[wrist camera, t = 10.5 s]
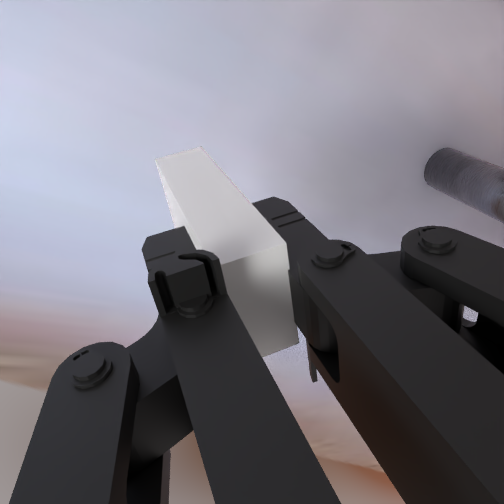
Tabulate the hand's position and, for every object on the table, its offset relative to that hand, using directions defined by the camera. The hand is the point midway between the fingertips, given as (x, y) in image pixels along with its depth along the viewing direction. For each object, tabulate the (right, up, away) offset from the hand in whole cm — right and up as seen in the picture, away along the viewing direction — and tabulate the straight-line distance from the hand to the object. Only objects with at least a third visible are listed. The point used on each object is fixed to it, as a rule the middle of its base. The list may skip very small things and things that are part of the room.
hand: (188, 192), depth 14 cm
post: (+14, +4, +14) cm, 20 cm away
